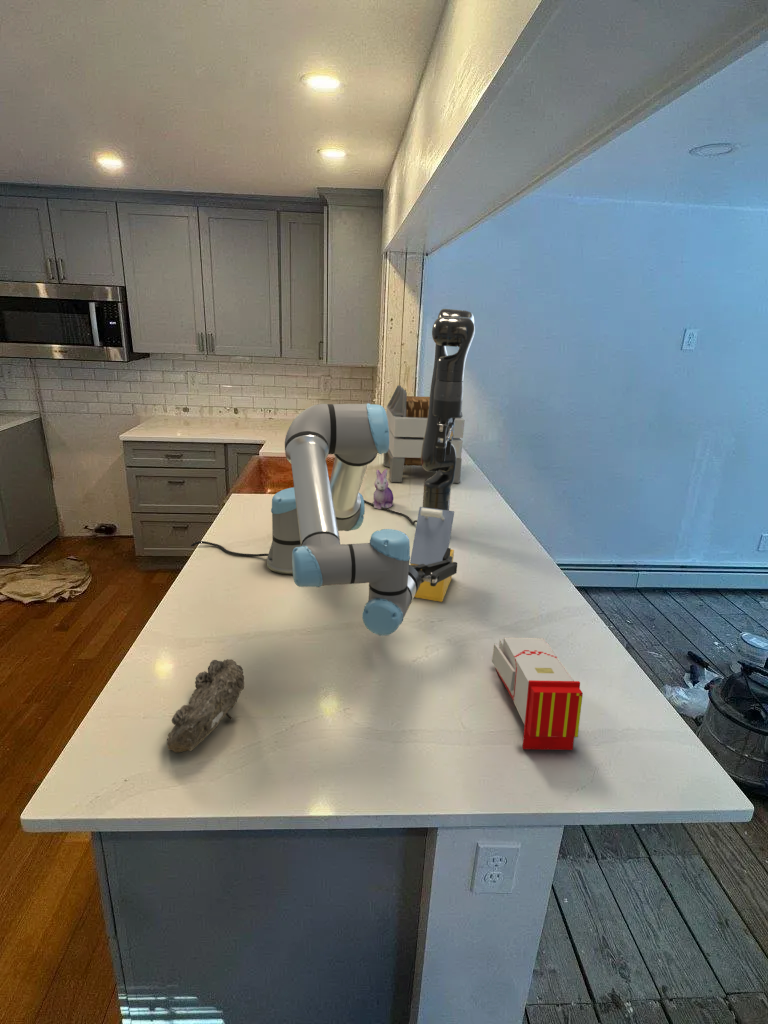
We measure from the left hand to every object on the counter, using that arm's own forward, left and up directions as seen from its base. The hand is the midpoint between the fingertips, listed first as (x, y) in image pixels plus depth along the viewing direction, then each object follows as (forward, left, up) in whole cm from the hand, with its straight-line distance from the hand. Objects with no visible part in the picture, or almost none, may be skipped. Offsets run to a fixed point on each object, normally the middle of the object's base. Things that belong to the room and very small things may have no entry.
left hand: (421, 548), depth 140 cm
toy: (+29, -25, -19) cm, 43 cm away
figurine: (-33, +80, -19) cm, 88 cm away
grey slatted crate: (-30, +134, -19) cm, 138 cm away
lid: (0, +15, -3) cm, 15 cm away
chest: (0, +18, -19) cm, 26 cm away
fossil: (-28, -50, -19) cm, 61 cm away
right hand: (0, +22, +18) cm, 28 cm away
